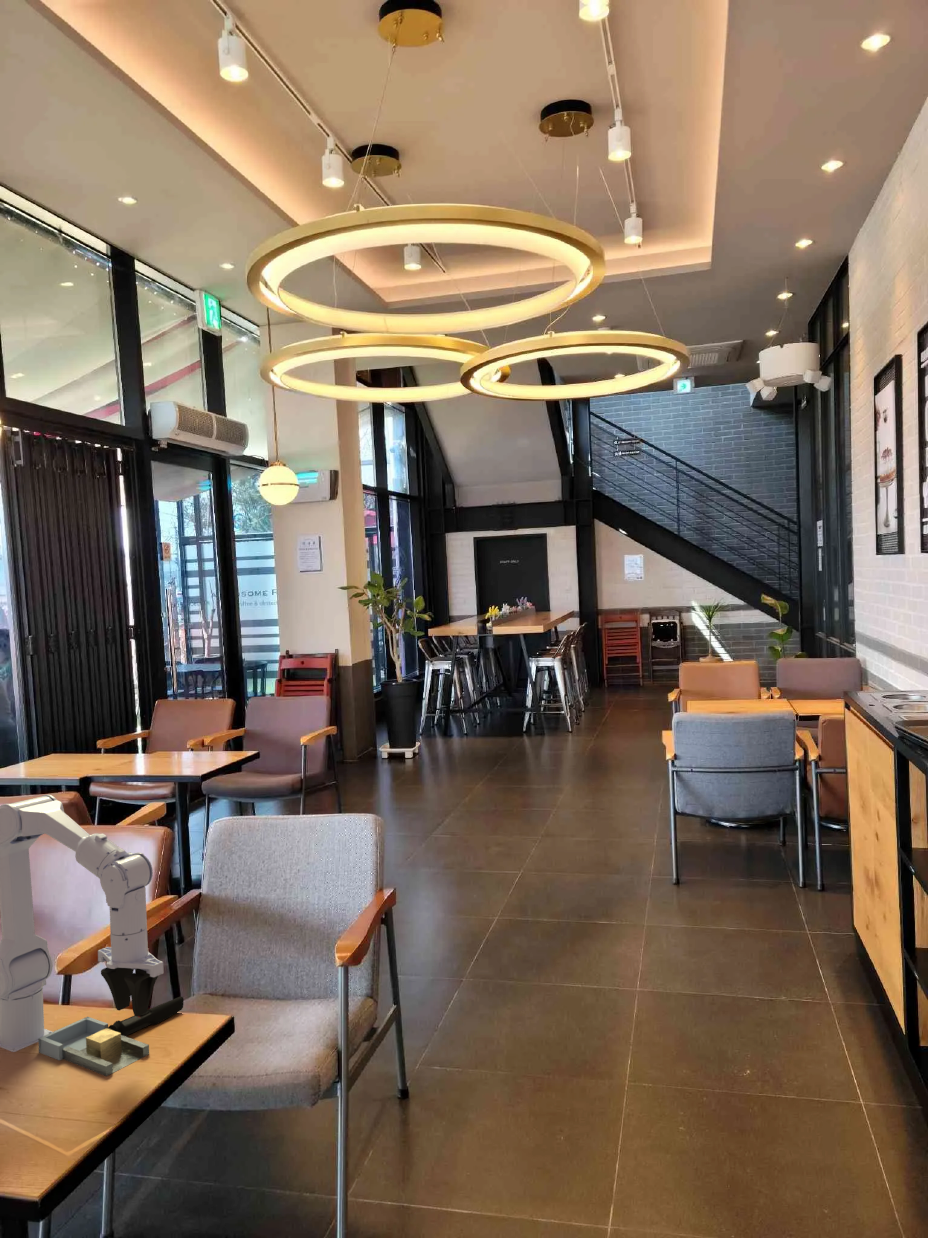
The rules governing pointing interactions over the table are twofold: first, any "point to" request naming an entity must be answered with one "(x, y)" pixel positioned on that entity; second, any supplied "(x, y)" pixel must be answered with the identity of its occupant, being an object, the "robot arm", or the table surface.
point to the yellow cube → (104, 1044)
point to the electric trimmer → (148, 1017)
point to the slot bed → (130, 1054)
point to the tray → (69, 1037)
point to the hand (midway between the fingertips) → (131, 1011)
